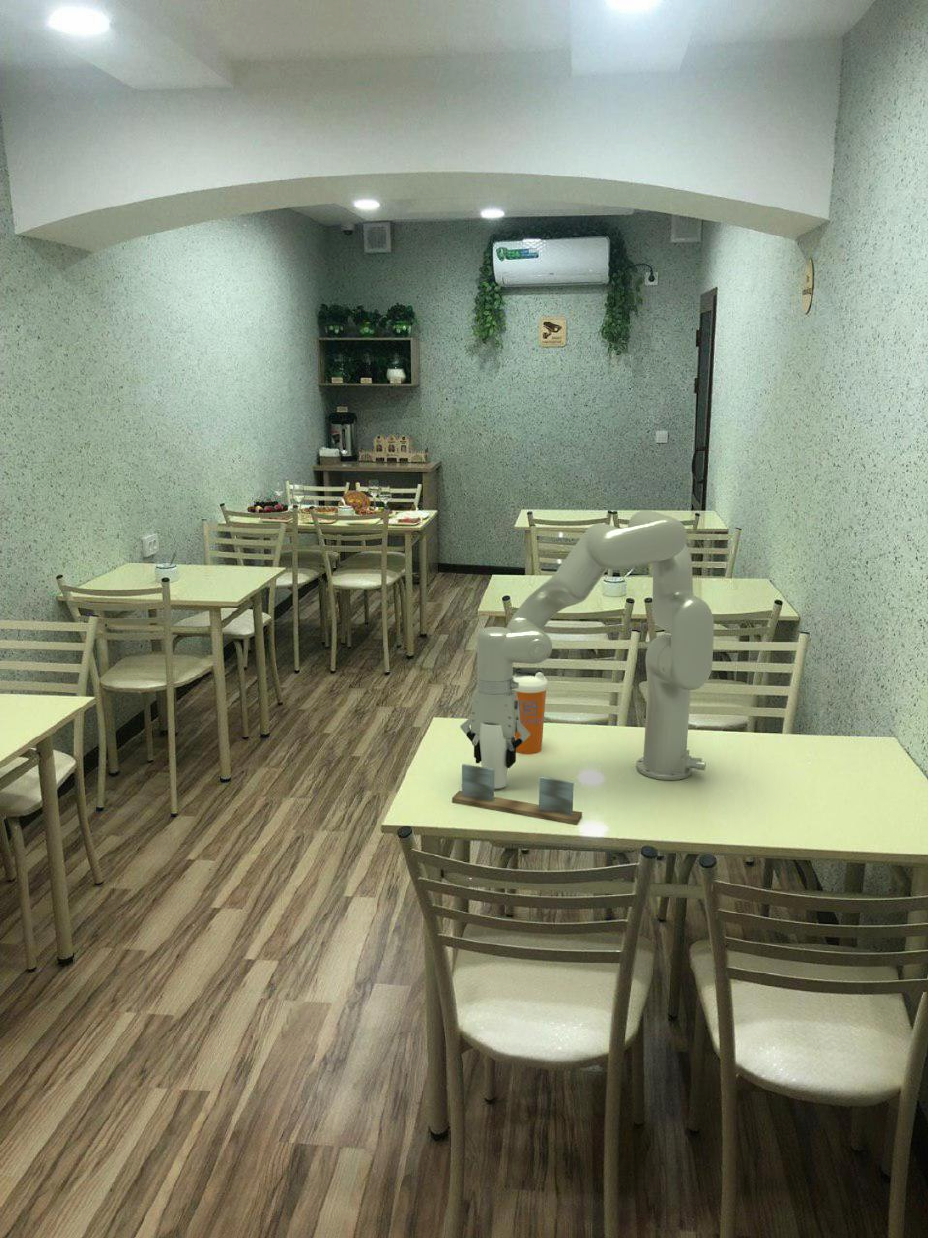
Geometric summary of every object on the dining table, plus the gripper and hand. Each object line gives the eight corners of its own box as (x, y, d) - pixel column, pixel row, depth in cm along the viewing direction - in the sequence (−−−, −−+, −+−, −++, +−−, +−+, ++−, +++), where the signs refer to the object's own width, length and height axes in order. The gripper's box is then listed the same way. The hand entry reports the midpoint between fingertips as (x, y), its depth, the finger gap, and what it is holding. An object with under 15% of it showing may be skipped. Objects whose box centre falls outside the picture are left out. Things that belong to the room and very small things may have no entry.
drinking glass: (507, 792, 202) (507, 726, 198) (476, 790, 203) (476, 724, 199) (512, 780, 208) (512, 716, 204) (482, 777, 209) (482, 714, 206)
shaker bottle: (506, 742, 231) (507, 664, 226) (541, 741, 232) (544, 663, 227) (511, 756, 222) (513, 675, 217) (548, 755, 223) (551, 674, 218)
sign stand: (581, 816, 191) (583, 780, 189) (576, 825, 187) (578, 787, 186) (459, 795, 201) (459, 760, 199) (452, 802, 197) (452, 766, 195)
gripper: (539, 684, 200) (538, 763, 204) (463, 675, 206) (464, 752, 211) (528, 695, 193) (527, 775, 198) (450, 685, 200) (451, 764, 204)
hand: (494, 762), depth 204 cm, fingers closed on drinking glass, 6 cm apart
